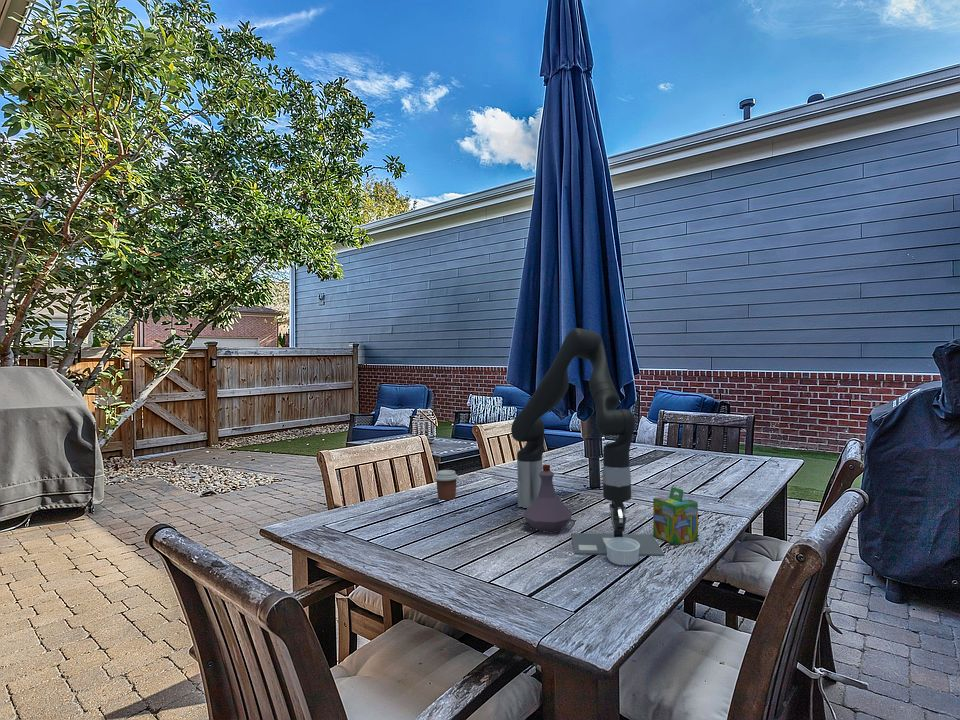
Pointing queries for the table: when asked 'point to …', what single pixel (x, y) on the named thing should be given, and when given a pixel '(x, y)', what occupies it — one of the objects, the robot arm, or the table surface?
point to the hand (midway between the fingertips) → (618, 543)
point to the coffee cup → (446, 484)
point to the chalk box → (675, 518)
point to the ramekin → (622, 550)
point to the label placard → (596, 542)
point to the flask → (547, 506)
